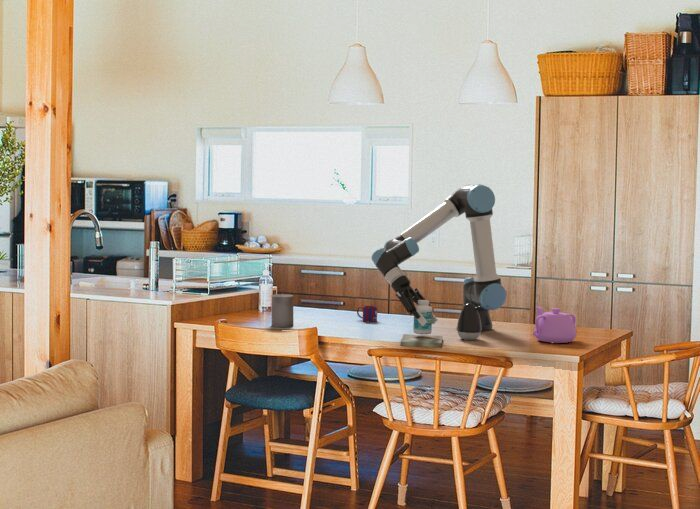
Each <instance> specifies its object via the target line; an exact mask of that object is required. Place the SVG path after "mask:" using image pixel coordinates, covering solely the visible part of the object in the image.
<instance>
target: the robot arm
mask: <svg viewBox="0 0 700 509" xmlns="http://www.w3.org/2000/svg"><path fill="white" fill-rule="evenodd" d="M495 196H496V195H495V193H494V191H493V190H492V189H491V188H490V187H488V186H487V185H484V184H478V183H477V184H466V185H462V186H461V187H459V188H458V189H457V190H456V191H454V192H452V193H451V194H450V195H449V196H447V197H446V198H445V199H444V201H443V203H442V204H440V205H439V206H437V207H436V208H435V209H434V210H432V211H430V212H429V213H428V214H426V215H425V216H424V217H422V218H421V219H420V220H418V221H416V223H414V224H413V225H411V226H410V227H408V228H407V229H406V230H404V231H403V232H401V233H400V234H399V235H397V236H396V237H395V238H393V239H392V238H391V239H389V240H388V239H387V241H386V242H385V243H384V247H381V248H379V249H376V250H375V251H374V252H373V253H372V255H371V260H372V262H373V264H374V266H375V267H376V268H377V269H378V271H379V272H380V273H381V275H383V277H384V278H385V279H386V283H387V284H389V285H390V286H391V288H392V290H393V291H394V293H395V296H396V297H397V298H398V299H399V301H400V303H401V304H402V306H403V307H404V309H405V310H406V312H407V313H408V314H409V315H411V316H412V315H413V317H414V316H415V317H416V319H417V320H418V321H419V323H420V324H421V325H422V326H424V325H425V324H426V323H427V321H426V319H425V318H424V317H423V315H422V314H421V313H420V311H419V310H416V307H415V306H417V305H418V300H427V299H426V297H424V296H423V295H422V294H421V292H420V291H419V289H418V288H415V289H413V287H411V280H410V279H409V278H408V276H407V275H405V273H404V272H403V270H402V268H400V266H399V265H400V264H402V263H404V262H405V261H407V260H409V259H410V258H412V257H414V256H415V255H417V254H418V253H419V251H420V247H419V245H418V243H420V242H421V241H422V240H424V239H425V238H427V237H428V236H429V235H431V234H432V233H434V232H435V231H437V230H438V229H439V228H441V227H442V226H443V225H444V224H446V223H448V222H449V221H450V220H452V219H453V218H458V217H460V216H461V215H463V214H465V218H466V219H467V220H468V221H469V225H470V233H471V234H470V235H471V242H472V249H473V258H474V259H473V260H474V266H475V273H476V274H475V275H476V276H475V277H465V279H463V284H462V288H463V289H462V293H463V294H462V308H463V307H464V305H465V304H467V303H472V304H474V305H475V306H476V307H478V306H482V308H481V309H479V310H478V312H479V316H480V320H481V328H482V331H481V332H485V331H486V332H487V331H488V332H489V331H492V330H493V321H492V319H491V318H492V317H491V315H490V311H496V310H498V309H500V308H501V307H502V306H504V304H505V303H506V300H507V291H506V289H505V287H504V286H503V285H502V280H501V275H499V274H498V273H497V268H496V267H497V266H496V261H495V260H496V259H495V250H494V244H493V235H492V225H491V217H492V216H493V214H494V211H493V207H494V206H495V203H496V197H495ZM414 303H415V304H416V305H415V304H414ZM429 306H430V307H432V306H431V303H429ZM438 321H439V320H438V318H437V317H436V315H435V314H434V313H433V312H432V325H435V323H437V322H438Z"/></svg>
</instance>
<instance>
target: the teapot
mask: <svg viewBox="0 0 700 509" xmlns="http://www.w3.org/2000/svg"><path fill="white" fill-rule="evenodd" d="M535 307H536V309H537V310H536V311H537V315H536V317H535V320H534V323H535V324H534V325H535V326H534V329H533V331H532V336H533V337H535V338H536V339H537V341H540V342H545V343H551V342H553V343H556V344H561V343H564V344H565V343H567V344H569V343H572V342H573V341H574V340H575V339H576V337H577V332H578V330H577V328H576V322H577V321H576V320H577V318H576V316H575V314H572V313H566V312H561V308H558V307H553V308H551V310H552V311H547V312H546V311H545V312H543V308H542V307H541V306H539V305H535ZM568 342H569V343H568ZM553 343H552V344H553Z"/></svg>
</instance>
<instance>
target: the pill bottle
mask: <svg viewBox="0 0 700 509" xmlns="http://www.w3.org/2000/svg"><path fill="white" fill-rule="evenodd" d="M429 304H430V300H427V299H426V300H418V305H417V304H416V305H415V307H416V310H419V311H420V313H421V314H422V315H423V317H424V318H425V319H426V321H427V323H426V324H425V325H424V326H422V325H421V324H420V323H419V321H418V320H417V319H416V317H415V316H414V315H413V329H412V330H413V333H414V334H415V335H431V333H432V329H433V327H432V326H433V324H432V313H433V307H432V306H429Z"/></svg>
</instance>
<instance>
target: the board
mask: <svg viewBox="0 0 700 509" xmlns="http://www.w3.org/2000/svg"><path fill="white" fill-rule="evenodd" d="M399 343H400V344H399V345H400V346H404V347H426V348H429V347H430V348H442V345H443V335H434V334H433V335H431V334H411V333H409V334H408V333H406V334H405V333H403V335H402V336H401V339H400V342H399ZM441 344H442V345H441Z"/></svg>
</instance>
